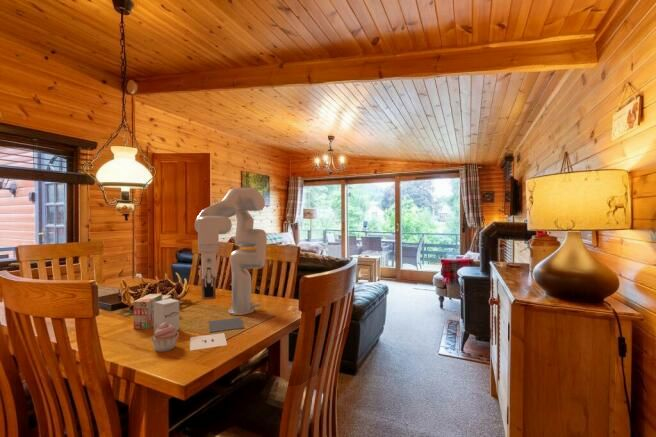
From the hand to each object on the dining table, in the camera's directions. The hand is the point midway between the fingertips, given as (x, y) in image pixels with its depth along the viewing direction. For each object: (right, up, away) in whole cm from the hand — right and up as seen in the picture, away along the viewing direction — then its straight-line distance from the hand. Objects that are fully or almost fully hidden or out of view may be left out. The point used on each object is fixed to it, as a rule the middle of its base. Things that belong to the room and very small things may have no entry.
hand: (208, 294), depth 124 cm
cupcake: (-13, -19, -7) cm, 24 cm away
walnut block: (0, -1, 0) cm, 1 cm away
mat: (+1, -18, +18) cm, 26 cm away
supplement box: (-22, -18, +12) cm, 31 cm away
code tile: (0, -18, 0) cm, 18 cm away
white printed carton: (-34, -18, +24) cm, 45 cm away
